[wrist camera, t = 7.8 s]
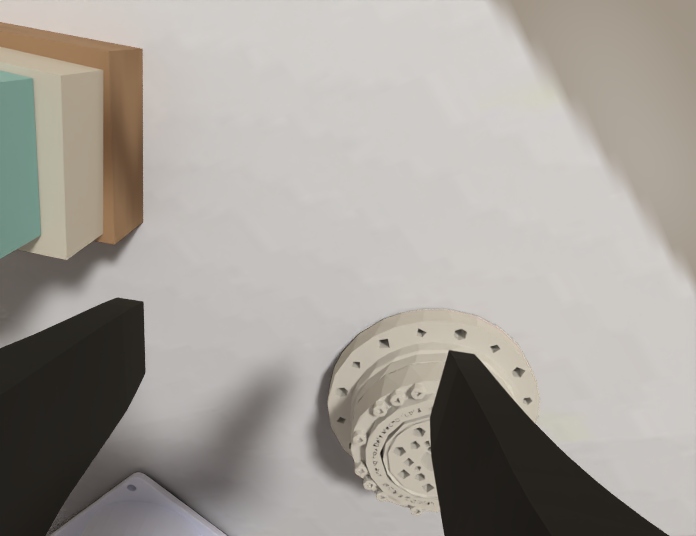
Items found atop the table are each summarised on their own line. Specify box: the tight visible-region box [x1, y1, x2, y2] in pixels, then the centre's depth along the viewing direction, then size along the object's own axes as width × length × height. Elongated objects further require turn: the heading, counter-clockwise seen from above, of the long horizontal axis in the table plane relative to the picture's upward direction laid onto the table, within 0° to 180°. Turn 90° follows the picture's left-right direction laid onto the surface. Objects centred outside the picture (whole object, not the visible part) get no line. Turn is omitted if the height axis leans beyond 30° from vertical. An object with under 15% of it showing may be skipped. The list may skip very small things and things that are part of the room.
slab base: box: [0, 22, 143, 244], centre depth 19 cm, size 7×7×3 cm
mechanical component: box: [327, 309, 540, 516], centre depth 23 cm, size 10×4×10 cm
